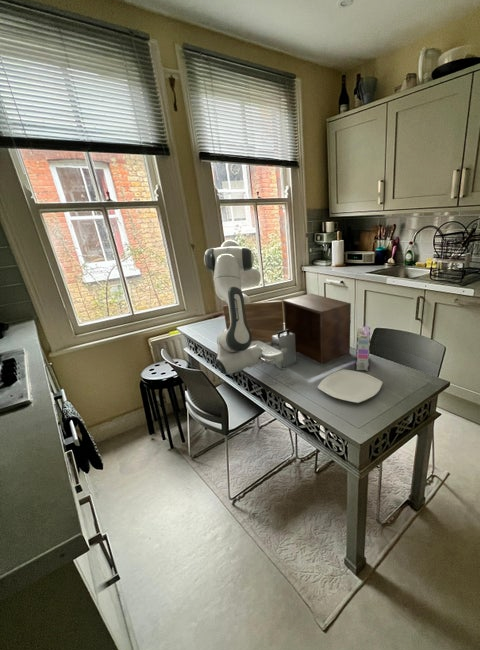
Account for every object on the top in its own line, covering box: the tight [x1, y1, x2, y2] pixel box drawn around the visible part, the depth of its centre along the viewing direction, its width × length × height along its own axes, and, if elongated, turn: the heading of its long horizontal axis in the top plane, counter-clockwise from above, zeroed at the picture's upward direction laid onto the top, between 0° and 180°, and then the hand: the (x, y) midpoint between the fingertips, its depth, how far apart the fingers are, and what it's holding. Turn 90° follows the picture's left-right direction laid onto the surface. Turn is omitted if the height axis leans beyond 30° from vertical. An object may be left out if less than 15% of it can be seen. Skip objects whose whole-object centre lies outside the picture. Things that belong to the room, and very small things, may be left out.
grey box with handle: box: [272, 329, 297, 370], centre depth 146 cm, size 6×9×17 cm, turn 128°
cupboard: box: [282, 293, 352, 365], centre depth 155 cm, size 18×28×26 cm, turn 38°
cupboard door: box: [222, 300, 285, 343], centre depth 161 cm, size 7×28×26 cm, turn 98°
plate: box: [317, 368, 384, 404], centre depth 127 cm, size 23×23×2 cm
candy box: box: [355, 325, 371, 372], centre depth 143 cm, size 14×6×16 cm, turn 168°
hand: (279, 346), depth 144 cm, fingers open, 8 cm apart
